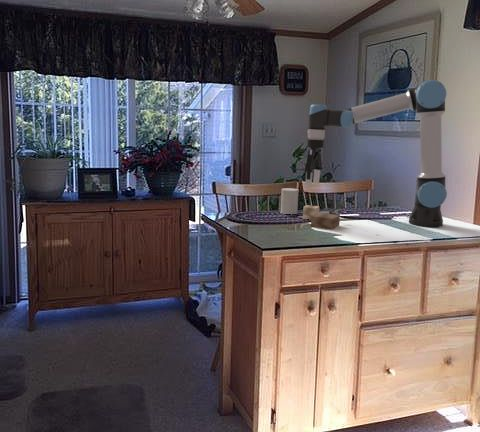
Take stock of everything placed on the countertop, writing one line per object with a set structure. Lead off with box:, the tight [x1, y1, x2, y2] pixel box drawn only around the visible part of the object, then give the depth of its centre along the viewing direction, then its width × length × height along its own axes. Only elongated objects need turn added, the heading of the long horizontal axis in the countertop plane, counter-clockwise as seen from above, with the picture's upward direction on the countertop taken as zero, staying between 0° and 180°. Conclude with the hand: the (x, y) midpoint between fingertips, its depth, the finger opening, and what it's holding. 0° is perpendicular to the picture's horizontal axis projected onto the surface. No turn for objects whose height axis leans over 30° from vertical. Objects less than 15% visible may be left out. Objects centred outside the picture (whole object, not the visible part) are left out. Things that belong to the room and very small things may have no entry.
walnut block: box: [310, 212, 341, 231], centre depth 237 cm, size 10×10×5 cm
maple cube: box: [302, 204, 320, 221], centre depth 251 cm, size 6×6×6 cm
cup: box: [280, 187, 299, 216], centre depth 262 cm, size 8×8×12 cm
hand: (312, 185), depth 249 cm, fingers open, 13 cm apart
